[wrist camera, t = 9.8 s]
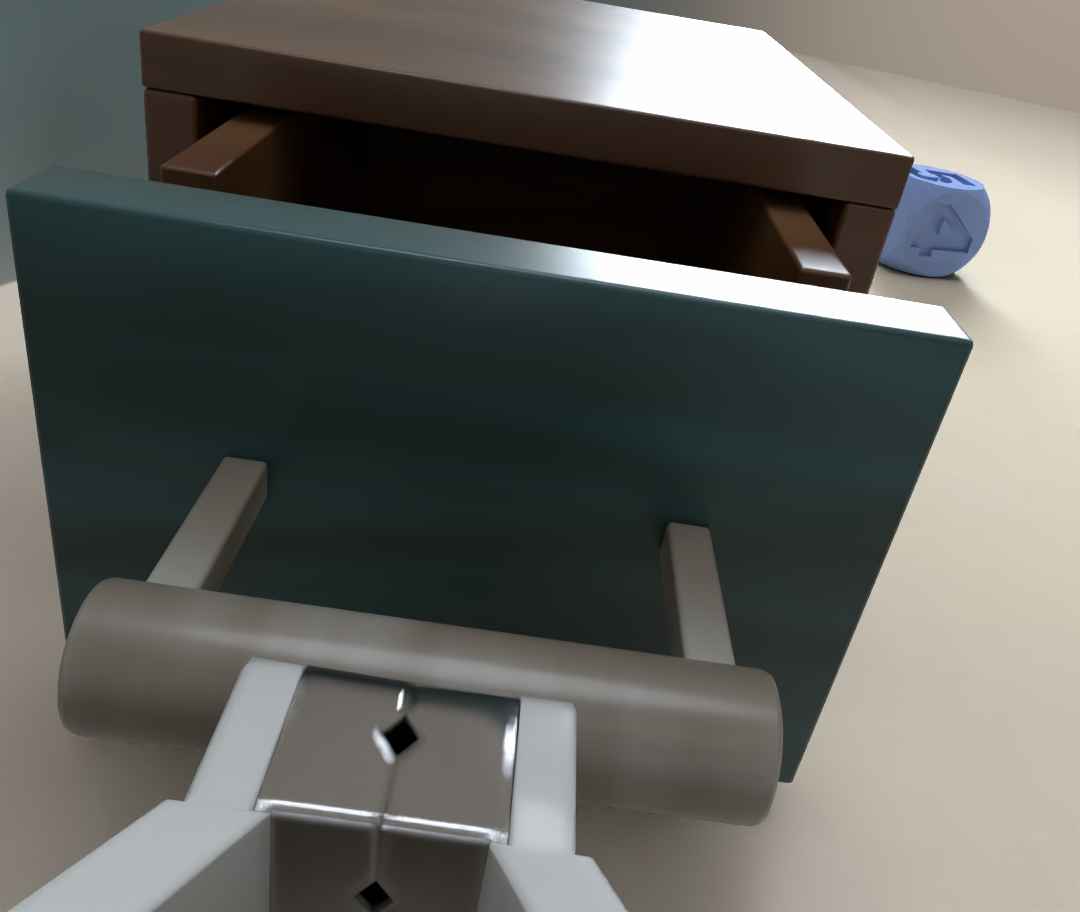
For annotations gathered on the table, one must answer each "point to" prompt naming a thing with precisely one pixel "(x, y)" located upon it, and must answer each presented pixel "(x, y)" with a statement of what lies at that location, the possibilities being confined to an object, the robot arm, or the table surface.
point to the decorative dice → (937, 223)
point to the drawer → (468, 441)
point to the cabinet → (539, 93)
